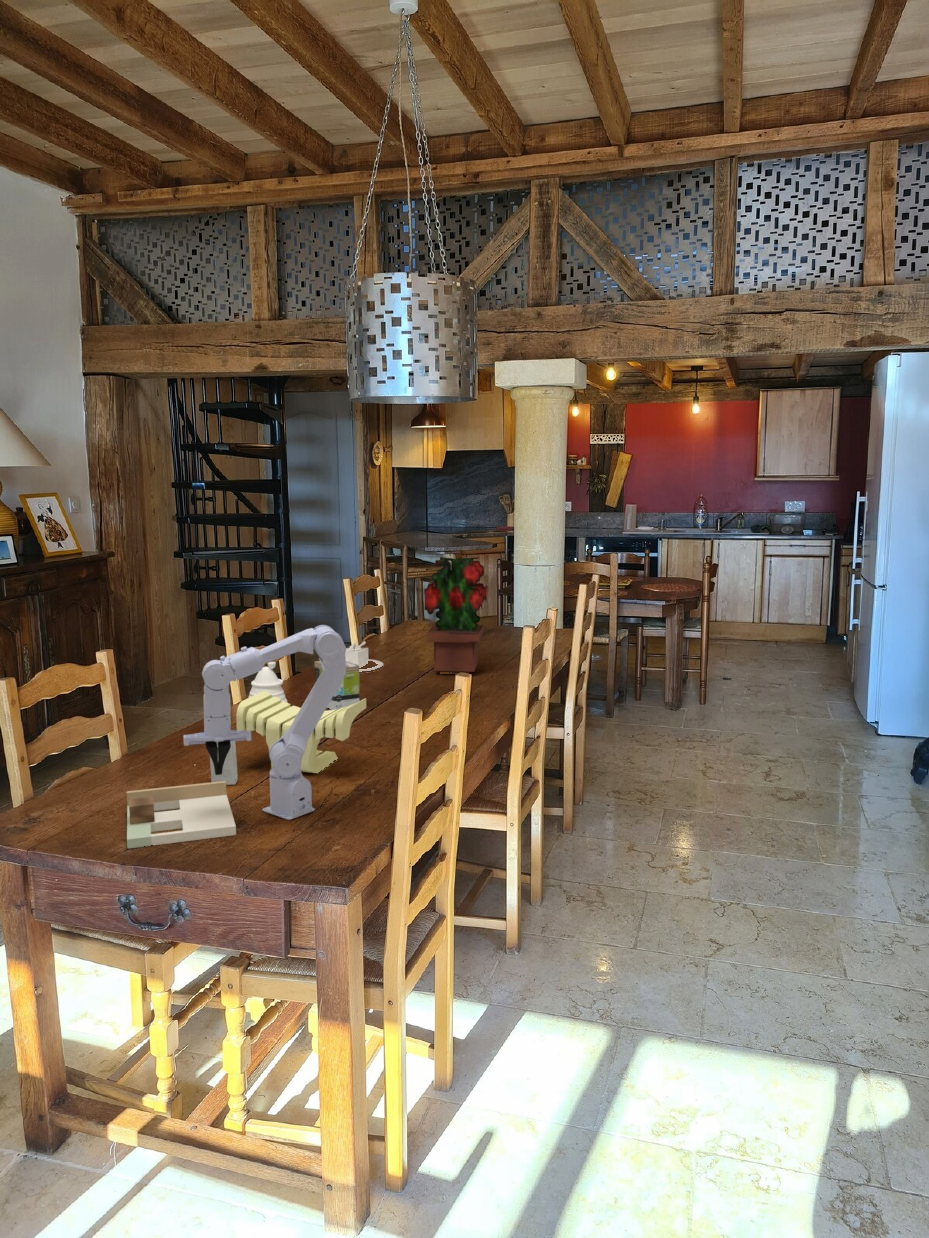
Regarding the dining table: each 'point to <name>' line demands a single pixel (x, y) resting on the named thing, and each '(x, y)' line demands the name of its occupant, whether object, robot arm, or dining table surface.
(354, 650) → the white block with ring
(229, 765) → the skincare box
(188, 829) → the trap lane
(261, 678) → the honey pot
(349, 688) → the tea box
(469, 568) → the potted plant
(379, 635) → the dining table surface
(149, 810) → the walnut block
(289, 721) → the slatted curved stool
